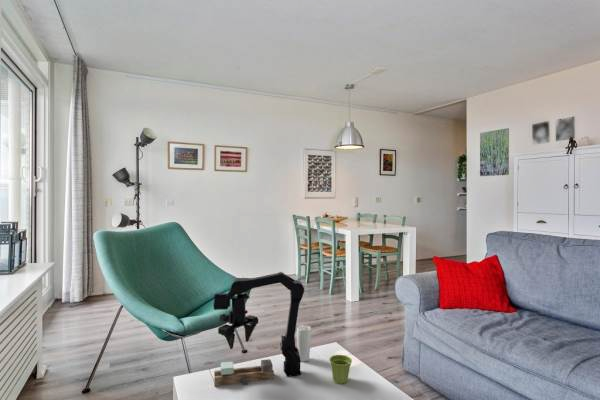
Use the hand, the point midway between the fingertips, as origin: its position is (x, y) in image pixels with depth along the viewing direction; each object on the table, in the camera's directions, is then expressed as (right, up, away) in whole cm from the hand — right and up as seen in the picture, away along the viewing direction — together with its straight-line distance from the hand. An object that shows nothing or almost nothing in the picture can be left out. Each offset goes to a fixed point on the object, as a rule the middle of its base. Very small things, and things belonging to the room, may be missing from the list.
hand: (239, 345), depth 152 cm
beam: (+3, -13, -4) cm, 13 cm away
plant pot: (+43, -13, -4) cm, 45 cm away
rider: (-4, -10, -6) cm, 12 cm away
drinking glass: (+28, -13, +15) cm, 34 cm away
